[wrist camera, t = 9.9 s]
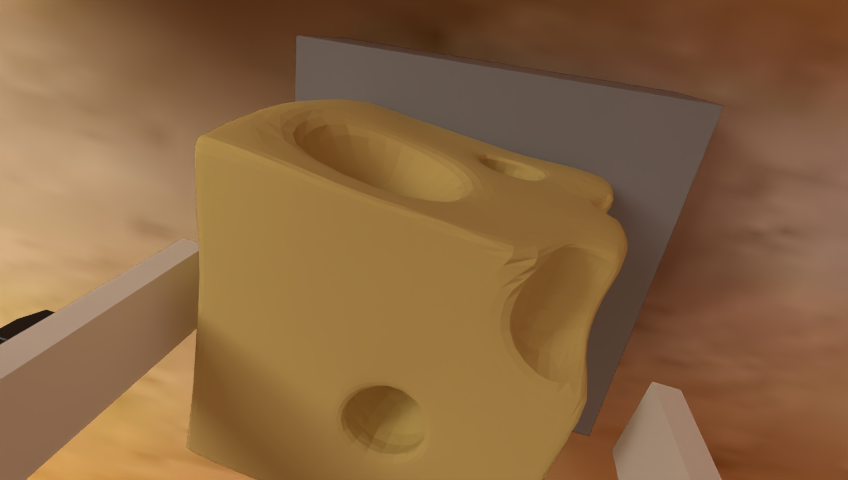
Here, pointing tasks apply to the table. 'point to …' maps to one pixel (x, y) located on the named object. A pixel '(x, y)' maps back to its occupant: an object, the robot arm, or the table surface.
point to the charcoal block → (544, 148)
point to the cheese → (390, 298)
